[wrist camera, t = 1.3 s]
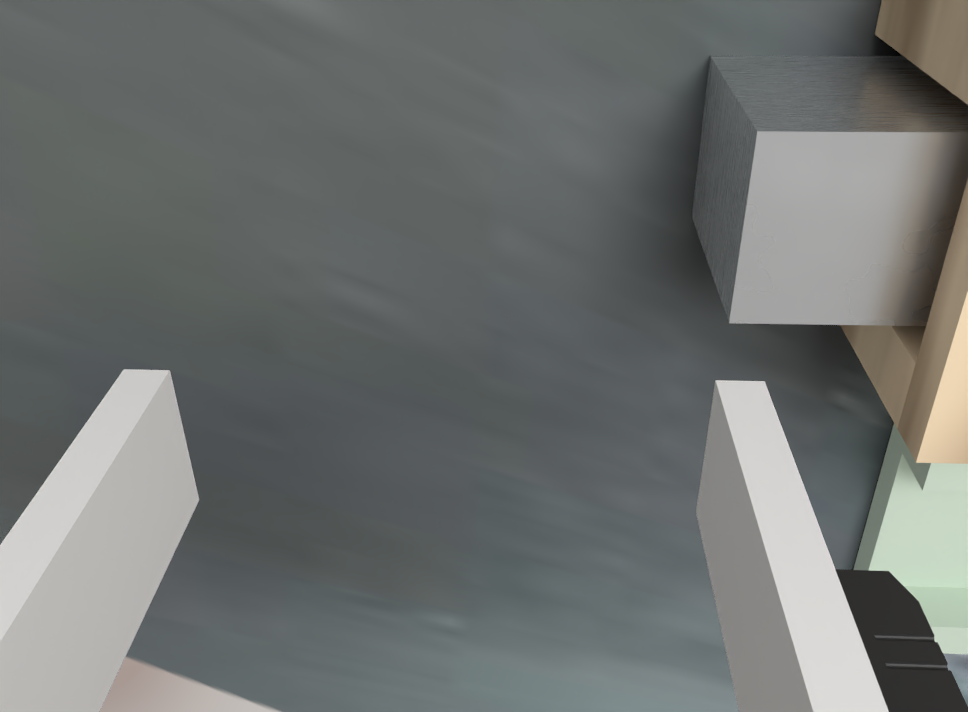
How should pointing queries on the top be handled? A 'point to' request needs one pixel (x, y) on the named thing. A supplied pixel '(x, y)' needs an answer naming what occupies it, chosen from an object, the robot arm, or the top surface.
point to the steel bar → (828, 188)
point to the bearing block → (964, 278)
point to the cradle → (922, 538)
